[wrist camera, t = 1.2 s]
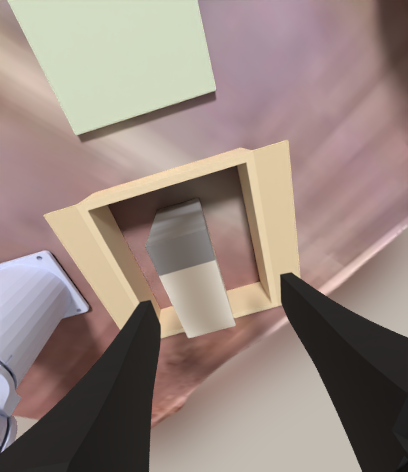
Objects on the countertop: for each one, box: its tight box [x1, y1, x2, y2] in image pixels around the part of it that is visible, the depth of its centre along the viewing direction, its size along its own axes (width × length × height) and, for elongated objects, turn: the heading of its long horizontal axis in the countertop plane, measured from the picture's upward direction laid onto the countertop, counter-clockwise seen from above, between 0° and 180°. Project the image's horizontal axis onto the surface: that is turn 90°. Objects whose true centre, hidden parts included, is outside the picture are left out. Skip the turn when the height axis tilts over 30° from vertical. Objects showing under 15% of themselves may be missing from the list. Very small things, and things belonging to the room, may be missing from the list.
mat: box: [8, 0, 216, 135], centre depth 14 cm, size 11×10×1 cm
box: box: [145, 198, 236, 338], centre depth 18 cm, size 4×9×7 cm, turn 16°
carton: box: [43, 140, 301, 338], centre depth 20 cm, size 18×15×4 cm
